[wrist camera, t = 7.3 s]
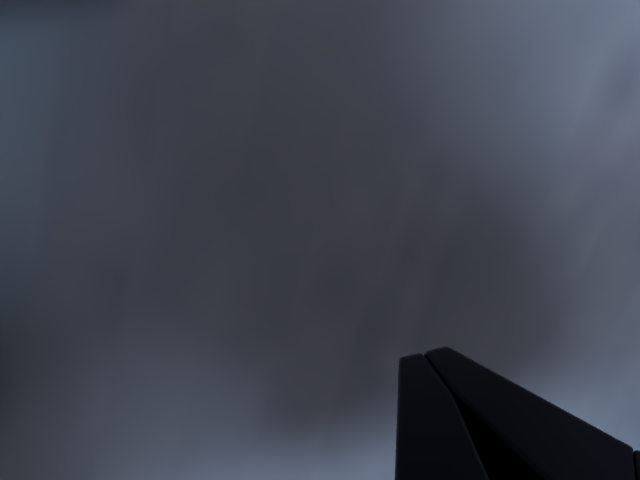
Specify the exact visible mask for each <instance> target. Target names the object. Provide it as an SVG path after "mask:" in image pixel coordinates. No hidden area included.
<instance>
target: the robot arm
mask: <svg viewBox="0 0 640 480" xmlns="http://www.w3.org/2000/svg"><path fill="white" fill-rule="evenodd" d="M395 480H640V451H638V450H636V451H634V453H633V448H632V447H631V446H629V445H627V444H625V443H623V442H622V441H620V440H618V439H616V438H614V437H612V436H611V435H609V434H607V433H605V432H603V431H601V430H600V429H598V428H596V427H594V426H592V425H590V424H589V423H587V422H585V421H583V420H581V419H579V418H578V417H576V416H574V415H572V414H570V413H568V412H567V411H565V410H563V409H561V408H559V407H557V406H556V405H554V404H552V403H550V402H548V401H546V400H545V399H543V398H541V397H539V396H537V395H535V394H534V393H532V392H530V391H528V390H526V389H524V388H523V387H521V386H519V385H517V384H515V383H513V382H512V381H510V380H508V379H506V378H504V377H502V376H501V375H499V374H497V373H495V372H493V371H491V370H490V369H488V368H486V367H484V366H482V365H480V364H479V363H477V362H475V361H473V360H471V359H469V358H468V357H466V356H464V355H462V354H460V353H458V352H457V351H455V350H453V349H451V348H449V347H441V348H437V349H433V350H429V351H426V352H425V353H424V355H423V354H421V353H417V354H413V355H409V356H405V357H401V358H400V359H399V371H398V401H397V430H396V460H395Z"/></svg>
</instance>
